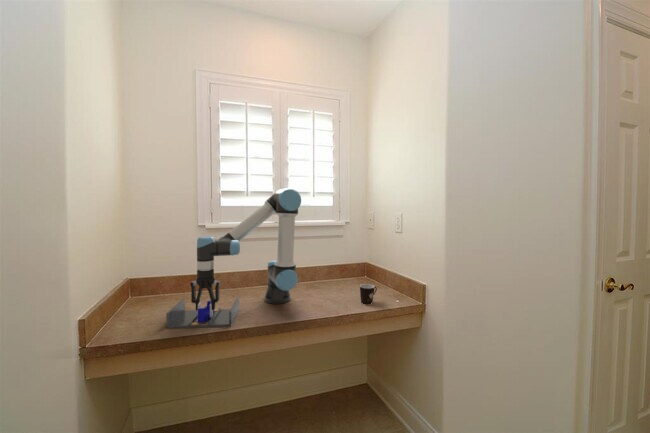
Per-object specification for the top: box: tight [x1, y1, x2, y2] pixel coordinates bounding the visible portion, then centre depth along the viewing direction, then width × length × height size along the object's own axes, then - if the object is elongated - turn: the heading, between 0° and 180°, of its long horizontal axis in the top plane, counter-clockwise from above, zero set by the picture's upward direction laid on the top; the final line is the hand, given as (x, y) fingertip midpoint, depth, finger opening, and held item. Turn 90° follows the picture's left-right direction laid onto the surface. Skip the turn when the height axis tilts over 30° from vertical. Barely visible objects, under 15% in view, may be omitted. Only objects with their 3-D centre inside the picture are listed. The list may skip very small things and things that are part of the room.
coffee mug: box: [359, 283, 378, 305], centre depth 158 cm, size 12×9×10 cm
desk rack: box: [165, 297, 240, 329], centre depth 133 cm, size 28×18×7 cm, turn 97°
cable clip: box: [198, 300, 215, 322], centre depth 132 cm, size 12×4×6 cm, turn 1°
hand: (205, 316), depth 133 cm, fingers open, 5 cm apart
